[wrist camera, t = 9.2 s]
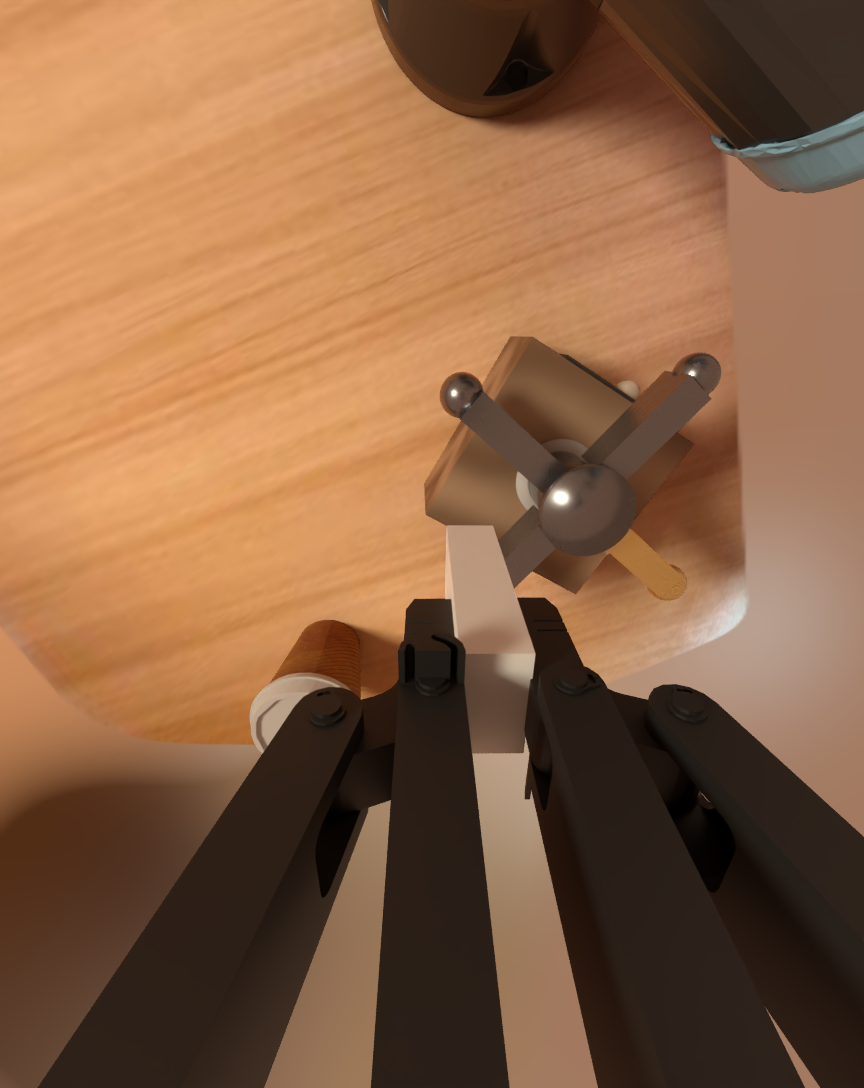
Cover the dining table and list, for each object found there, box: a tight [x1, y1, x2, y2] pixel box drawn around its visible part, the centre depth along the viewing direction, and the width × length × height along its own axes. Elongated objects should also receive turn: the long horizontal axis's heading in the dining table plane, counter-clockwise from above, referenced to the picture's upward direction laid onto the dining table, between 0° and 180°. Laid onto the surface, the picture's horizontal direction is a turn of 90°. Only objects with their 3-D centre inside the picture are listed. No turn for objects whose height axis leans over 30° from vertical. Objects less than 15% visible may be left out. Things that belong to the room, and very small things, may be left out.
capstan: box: [440, 353, 721, 601], centre depth 31 cm, size 22×22×7 cm
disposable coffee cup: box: [250, 620, 361, 754], centre depth 44 cm, size 10×10×12 cm
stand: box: [424, 337, 694, 594], centre depth 38 cm, size 16×14×8 cm
